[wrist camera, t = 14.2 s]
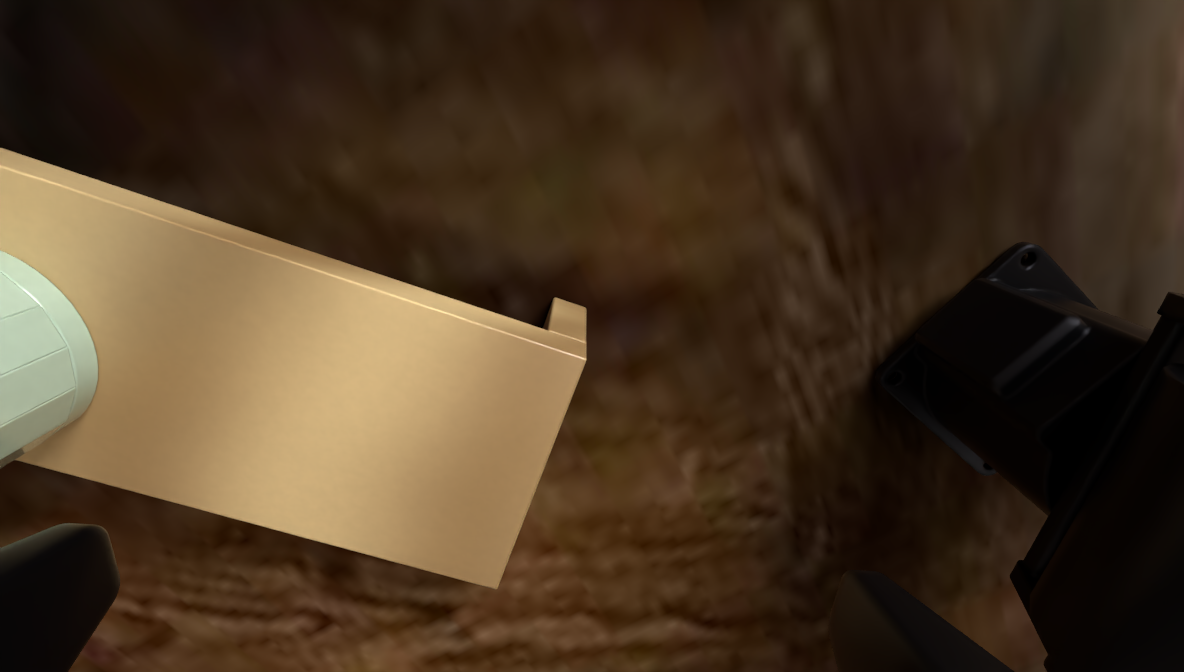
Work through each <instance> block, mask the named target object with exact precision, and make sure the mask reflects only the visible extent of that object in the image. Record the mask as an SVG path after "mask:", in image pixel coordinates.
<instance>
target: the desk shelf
mask: <svg viewBox="0 0 1184 672" xmlns="http://www.w3.org/2000/svg"><path fill="white" fill-rule="evenodd" d="M0 250H1V251H4V252H6V253H8V254H10V255H12V256H14V257H16V258H18V259H20V260H22V261H23V262H25V263H26V264H28V265H30V266H31V267H33V268H34V269H36V270H37V271H38V272H40V273H41V274H42V275H44V276H45V277H46V278H47V279H49V280H50V281H51V282H52V283H53V284H54V285H55V286H56V287H57V288H58V289H59V290H60V291H61V292H62V293H63V294H64V295H65V296H66V297H67V298H68V300H69V301H70V302H71V303H72V304H73V306H74V307H75V309H76V310H77V311H78V313H79V314H80V316H81V317H82V319H83V321H84V323H85V324H86V326H87V328H88V330H89V332H90V335H91V337H92V340H93V342H94V346H95V349H96V353H97V359H98V366H99V370H98V383H97V388H96V391H95V394H94V397H93V399H92V401H91V403H90V404H89V406H88V408H87V409H86V411H85V412H84V413H83V414H82V415H81V416H80V417H79V418H78V419H77V420H76V421H74V422H73V423H72V424H70V425H69V426H67V427H66V428H64V429H62V430H60V431H59V432H57V433H55V434H54V435H52V436H50V437H49V438H48V439H47V440H46V441H45V442H44V443H42V444H40V445H39V446H37V447H35V448H34V449H32V450H30V451H29V452H27V453H25V454H23V455H22V456H20V457H18V458H17V459H15V460H18V461H21V462H25V463H29V464H32V465H36V466H40V467H44V468H47V469H51V470H55V471H58V472H62V473H66V474H70V475H73V476H77V477H81V478H84V479H88V480H92V481H96V482H99V483H103V484H107V485H110V486H114V487H118V488H122V489H125V490H129V491H133V492H136V493H140V494H144V495H147V496H151V497H155V498H159V499H162V500H166V501H170V502H173V503H177V504H181V505H185V506H188V507H192V508H196V509H199V510H203V511H207V512H211V513H214V514H218V515H222V516H225V517H229V518H233V519H237V520H240V521H244V522H248V523H251V524H255V525H259V526H263V527H266V528H270V529H274V530H277V531H281V532H285V533H288V534H292V535H296V536H300V537H303V538H307V539H311V540H314V541H318V542H322V543H326V544H329V545H333V546H337V547H340V548H344V549H348V550H352V551H355V552H359V553H363V554H366V555H370V556H374V557H378V558H381V559H385V560H389V561H392V562H396V563H400V564H403V565H407V566H411V567H415V568H418V569H422V570H426V571H429V572H433V573H437V574H441V575H444V576H448V577H452V578H455V579H459V580H463V581H467V582H470V583H474V584H478V585H481V586H485V587H489V588H493V589H497V588H498V585H499V583H500V580H501V578H502V575H503V573H504V570H505V567H506V565H507V562H508V560H509V557H510V555H511V552H512V550H513V547H514V544H515V542H516V539H517V537H518V534H519V532H520V529H521V526H522V524H523V521H524V519H525V516H526V514H527V511H528V509H529V506H530V503H531V501H532V498H533V496H534V493H535V491H536V488H537V485H538V483H539V480H540V478H541V475H542V473H543V470H544V468H545V465H546V462H547V460H548V457H549V455H550V452H551V450H552V447H553V445H554V442H555V439H556V437H557V434H558V432H559V429H560V427H561V424H562V421H563V419H564V416H565V414H566V411H567V409H568V406H569V404H570V401H571V398H572V396H573V393H574V391H575V388H576V386H577V383H578V380H579V378H580V375H581V373H582V370H583V368H584V365H585V363H586V308H585V307H582V306H579V305H576V304H573V303H570V302H567V301H564V300H561V299H559V298H554V299H553V301H552V303H551V306H550V309H549V312H548V315H547V318H546V320H545V323H544V326H543V329H542V328H539V327H536V326H533V325H530V324H527V323H524V322H521V321H518V320H515V319H512V318H509V317H506V316H503V315H500V314H497V313H494V312H491V311H488V310H485V309H482V308H479V307H476V306H473V305H470V304H467V303H464V302H461V301H458V300H455V299H452V298H449V297H446V296H443V295H440V294H437V293H434V292H431V291H428V290H425V289H422V288H419V287H416V286H413V285H410V284H407V283H404V282H401V281H398V280H395V279H392V278H389V277H386V276H383V275H380V274H377V273H374V272H371V271H368V270H365V269H362V268H359V267H356V266H353V265H350V264H347V263H344V262H341V261H338V260H335V259H332V258H329V257H326V256H323V255H320V254H317V253H314V252H311V251H308V250H305V249H302V248H299V247H296V246H293V245H290V244H287V243H284V242H281V241H278V240H275V239H272V238H269V237H266V236H263V235H260V234H257V233H254V232H251V231H248V230H245V229H242V228H239V227H236V226H233V225H230V224H227V223H224V222H221V221H219V220H216V219H213V218H210V217H207V216H204V215H201V214H198V213H195V212H192V211H189V210H186V209H183V208H180V207H177V206H174V205H171V204H168V203H165V202H162V201H159V200H156V199H153V198H150V197H147V196H144V195H141V194H138V193H135V192H132V191H129V190H126V189H123V188H120V187H117V186H114V185H111V184H108V183H105V182H102V181H99V180H96V179H93V178H90V177H87V176H84V175H81V174H78V173H75V172H72V171H69V170H66V169H63V168H60V167H57V166H54V165H51V164H48V163H45V162H42V161H39V160H36V159H33V158H30V157H27V156H24V155H21V154H18V153H15V152H12V151H9V150H6V149H3V148H0Z"/></svg>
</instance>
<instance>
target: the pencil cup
mask: <svg viewBox="0 0 1184 672" xmlns="http://www.w3.org/2000/svg"><path fill="white" fill-rule="evenodd" d="M98 370H99V366H98V359H97V353H96V349H95V346H94V342H93V340H92V337H91V335H90V332H89V330H88V328H87V326H86V324H85V323H84V321H83V319H82V317H81V316H80V314H79V313H78V311H77V310H76V309H75V307H74V306H73V304H72V303H71V302H70V301H69V300H68V298H67V297H66V296H65V295H64V294H63V293H62V292H61V291H60V290H59V289H58V288H57V287H56V286H55V285H54V284H53V283H52V282H51V281H50V280H49V279H47V278H46V277H45V276H44V275H42V274H41V273H40V272H38V271H37V270H36V269H34V268H33V267H31V266H30V265H28V264H26V263H25V262H23V261H22V260H20V259H18V258H16V257H14V256H12V255H10V254H8V253H6V252H4V251H1V250H0V468H2V467H3V466H5V465H7V464H8V463H10V462H12V461H13V460H15V459H17V458H18V457H20V456H22V455H23V454H25V453H27V452H29V451H30V450H32V449H34V448H35V447H37V446H39V445H40V444H42V443H44V442H45V441H46V440H47V439H48V438H49V437H50V436H52V435H54V434H55V433H57V432H59V431H60V430H62V429H64V428H66V427H67V426H69V425H70V424H72V423H73V422H74V421H76V420H77V419H78V418H79V417H80V416H81V415H82V414H83V413H84V412H85V411H86V409H87V408H88V406H89V404H90V403H91V401H92V399H93V397H94V394H95V391H96V388H97V383H98Z"/></svg>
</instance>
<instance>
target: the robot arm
mask: <svg viewBox="0 0 1184 672" xmlns="http://www.w3.org/2000/svg"><path fill="white" fill-rule="evenodd" d="M1026 253H1028V257H1027V259H1026V261H1025V262H1024V263H1022V264H1021V258H1022V257H1023V255H1024V254H1026ZM1157 313H1158V314H1160V315H1162V316H1161V317H1160V319H1159V321H1158V323H1157V325H1156V326H1155V328H1154V330H1151V329H1148V328H1145V327H1143V326H1140V325H1137V324H1135V323H1132V322H1129V321H1127V320H1124V319H1121V318H1118V317H1116V316H1113V315H1110V314H1108V313H1105V312H1102V311H1100V310H1098V309H1097V308H1096V306H1095V305H1094V304H1093V303H1092V302H1091V301H1090V300H1089V299H1088V298H1087V297H1086V296H1085V294H1084V293H1083V292H1082V291H1081V290H1080V289H1079V288H1078V287H1077V286H1076V285H1075V284H1074V282H1073V281H1072V280H1071V279H1070V278H1069V277H1068V276H1067V275H1066V274H1065V273H1064V272H1063V270H1062V269H1061V268H1060V267H1059V266H1058V265H1057V264H1056V263H1055V262H1054V261H1053V260H1052V258H1051V257H1050V256H1049V255H1048V254H1047V253H1046V252H1045V251H1044V250H1043V249H1042V248H1041V247H1040V246H1038V245H1035V244H1032V243H1027V242H1021V243H1017V244H1015V245H1014V246H1012V247H1011V248H1010V249H1009V250H1007V251H1006V252H1005V253H1004V254H1003V255H1002V256H1001V257H1000V258H999V259H998V260H996V261H995V262H994V263H993V264H992V265H991V266H990V267H989V268H988V269H987V270H985V271H984V272H983V273H982V274H981V275H980V276H979V277H978V278H977V279H975V280H973V281H972V282H970V283H969V284H968V285H967V286H966V287H965V288H964V289H963V290H962V291H961V292H959V293H958V294H957V295H956V296H955V297H954V298H953V299H952V300H951V301H950V302H948V303H947V304H946V305H945V306H944V307H943V308H942V309H941V310H940V311H938V312H937V313H936V314H935V315H934V316H933V317H932V318H931V319H930V320H929V321H927V322H926V323H925V324H924V325H923V326H922V327H921V328H920V329H919V330H918V331H917V333H916V334H915V335H914V336H913V337H911V338H910V339H909V340H908V341H907V342H906V343H905V344H904V345H903V346H901V347H900V348H899V349H898V350H897V351H896V352H895V353H894V354H893V355H892V356H890V357H889V358H888V359H887V360H886V361H885V362H884V363H883V364H882V365H880V367H879V368H878V369H877V371H876V375H875V376H876V380H877V382H878V383H879V384H880V385H881V386H882V387H883V388H884V389H885V390H886V391H887V392H889V393H890V394H891V395H892V396H893V397H894V398H895V399H896V400H898V401H899V402H900V403H901V404H902V405H903V406H904V407H905V408H907V409H908V410H909V411H910V412H911V413H912V414H913V415H914V416H915V417H917V418H918V419H919V420H920V421H921V422H922V423H923V424H924V425H926V426H927V427H928V428H929V429H930V430H931V431H932V432H933V433H935V434H936V435H937V436H938V437H939V438H940V439H941V440H942V441H944V442H945V443H946V444H947V445H948V446H949V447H950V448H951V449H953V450H954V451H955V452H956V453H957V454H958V455H959V456H960V457H961V458H963V459H964V460H965V461H966V462H967V463H968V464H969V465H970V466H972V467H973V468H974V469H975V470H976V471H977V472H978V473H980V474H982V475H985V476H989V475H993V474H995V473H997V472H998V473H999V474H1000V475H1001V476H1002V477H1003V478H1005V479H1006V480H1007V481H1008V482H1009V483H1010V484H1012V485H1013V486H1014V487H1015V488H1016V489H1017V490H1019V491H1020V492H1021V493H1022V494H1023V495H1024V496H1026V497H1027V498H1028V499H1029V500H1030V501H1031V502H1032V503H1034V504H1035V505H1036V506H1037V507H1038V508H1039V509H1041V510H1042V511H1043V512H1044V513H1045V514H1046V515H1048V518H1047V520H1046V521H1045V523H1044V525H1043V527H1042V528H1041V530H1040V532H1039V534H1038V536H1037V537H1036V539H1035V541H1034V543H1033V544H1032V546H1031V548H1030V550H1029V551H1028V553H1027V555H1026V557H1025V559H1024V560H1019V561H1018V562H1017V564H1016V565H1015V567H1014V569H1013V571H1012V573H1011V574H1010V579H1011V581H1012V583H1013V585H1014V587H1015V589H1016V591H1017V593H1018V595H1019V597H1020V599H1021V601H1022V603H1023V605H1024V607H1025V609H1026V611H1027V613H1028V615H1029V617H1030V619H1031V621H1032V623H1033V625H1034V627H1035V629H1036V631H1037V633H1038V635H1039V637H1040V639H1041V641H1042V643H1043V645H1044V647H1045V649H1046V651H1047V653H1048V656H1047V657H1046V659H1045V661H1044V666H1045V668H1046V670H1047V672H1184V295H1183V294H1178V293H1173V292H1168V294H1167V296H1166V298H1165V299H1164V301H1163V303H1162V305H1161V306H1160V308H1159V310H1158V312H1157ZM893 372H897V375H896V376H895V378H893V379H892V380H888V377H889V376H890V374H892V373H893ZM984 462H986V463H985V464H984ZM119 586H120V575H119V571H118V567H117V564H116V560H115V556H114V553H113V549H112V545H111V541H110V538H109V535H108V532H107V531H106V530H105V529H104V528H103V527H101V526H98V525H92V524H75V523H66V524H60V525H57V526H54V527H51V528H49V529H46V530H44V531H41V532H39V533H37V534H34V535H32V536H29V537H27V538H24V539H22V540H19V541H17V542H14V543H12V544H10V545H7V546H5V547H2V548H0V672H68V671H69V669H70V668H71V666H72V665H73V663H74V662H75V660H76V659H77V657H78V655H79V654H80V652H81V651H82V649H83V648H84V646H85V645H86V643H87V642H88V640H89V639H90V637H91V636H92V634H93V632H94V631H95V629H96V628H97V626H98V625H99V623H100V622H101V620H102V619H103V617H104V616H105V614H106V613H107V611H108V609H109V608H110V606H111V605H112V603H113V602H114V600H115V598H116V596H117V593H118V590H119ZM828 628H829V637H830V641H831V645H832V648H833V652H834V655H835V659H836V663H837V666H838V670H839V672H1014V671H1013V670H1011V669H1010V668H1009V667H1007V666H1006V665H1004V664H1003V663H1002V662H1000V661H999V660H998V659H996V658H995V657H994V656H992V655H991V654H990V653H988V652H987V651H986V650H984V649H983V648H982V647H980V646H979V645H978V644H976V643H975V642H974V641H972V640H971V639H970V638H968V637H967V636H966V635H964V634H963V633H962V632H960V631H959V630H958V629H956V628H955V627H954V626H952V625H951V624H950V623H948V622H947V621H946V620H944V619H943V618H942V617H940V616H939V615H938V614H936V613H935V612H934V611H932V610H931V609H929V608H928V607H927V606H925V605H924V604H923V603H921V602H920V601H919V600H917V599H916V598H915V597H913V596H912V595H911V594H909V593H908V592H907V591H905V590H904V589H903V588H901V587H900V586H899V585H897V584H896V583H895V582H893V581H892V580H891V579H889V578H888V577H887V576H885V575H884V574H882V573H880V572H876V571H865V570H849V571H846V572H845V573H844V574H843V576H842V578H841V580H840V584H839V587H838V590H837V593H836V597H835V600H834V603H833V607H832V610H831V613H830V617H829V624H828Z"/></svg>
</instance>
